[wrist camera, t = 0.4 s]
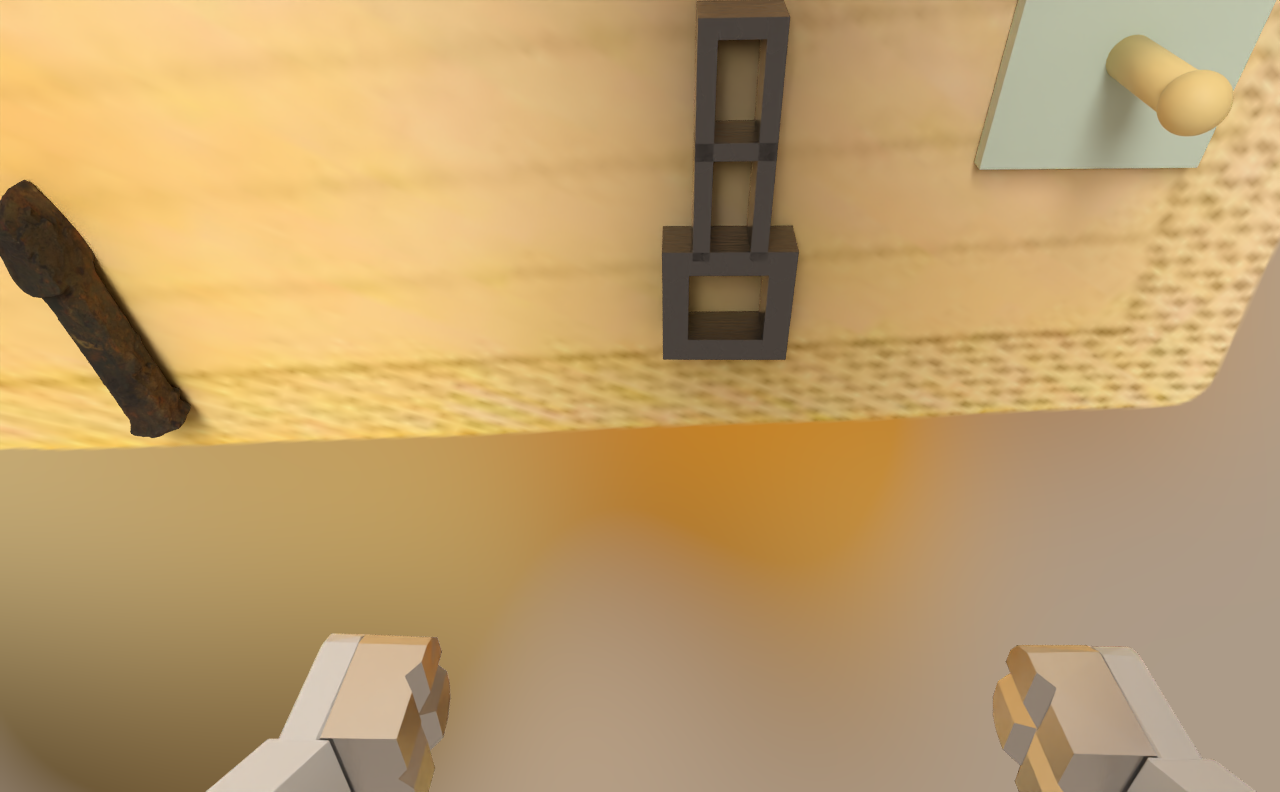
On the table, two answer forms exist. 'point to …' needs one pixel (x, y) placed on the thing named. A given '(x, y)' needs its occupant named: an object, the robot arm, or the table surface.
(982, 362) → the table surface
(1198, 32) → the keeper board
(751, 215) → the grey hollow frame
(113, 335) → the hand tool
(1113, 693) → the robot arm
